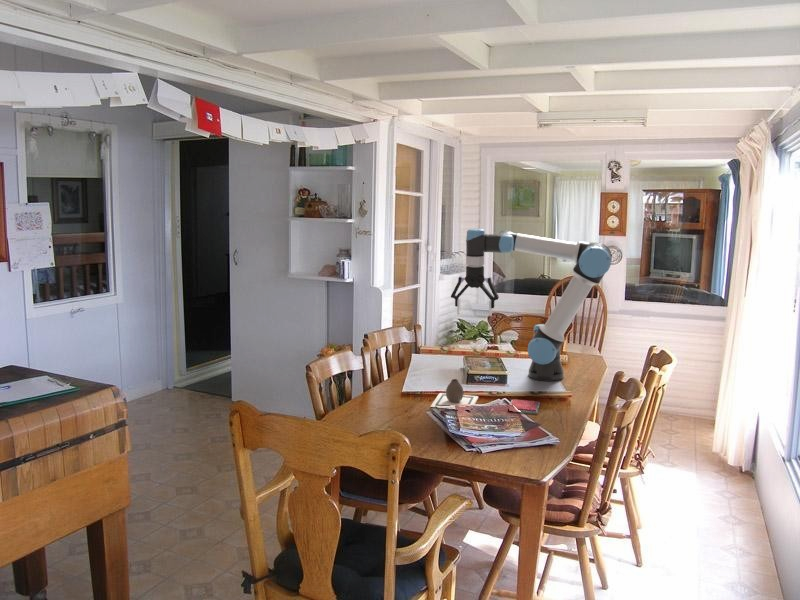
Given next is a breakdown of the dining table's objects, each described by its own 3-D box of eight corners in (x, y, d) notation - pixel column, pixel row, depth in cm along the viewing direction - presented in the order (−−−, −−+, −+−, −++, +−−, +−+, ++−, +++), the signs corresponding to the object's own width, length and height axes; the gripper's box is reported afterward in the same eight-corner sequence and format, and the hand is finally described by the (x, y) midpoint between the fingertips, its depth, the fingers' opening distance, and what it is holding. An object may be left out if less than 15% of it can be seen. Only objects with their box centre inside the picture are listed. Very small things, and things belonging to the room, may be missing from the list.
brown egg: (465, 403, 268) (465, 382, 266) (448, 404, 267) (448, 383, 265) (460, 397, 274) (461, 376, 273) (444, 398, 273) (444, 377, 271)
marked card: (478, 397, 276) (478, 395, 276) (471, 411, 261) (471, 409, 261) (439, 394, 280) (439, 392, 280) (430, 407, 265) (430, 405, 265)
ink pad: (539, 404, 268) (539, 401, 267) (537, 414, 257) (537, 410, 257) (511, 401, 271) (511, 398, 270) (507, 411, 260) (507, 408, 260)
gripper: (505, 265, 289) (504, 314, 293) (447, 263, 296) (447, 311, 300) (503, 268, 282) (502, 318, 286) (444, 266, 289) (444, 315, 293)
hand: (474, 314), depth 293 cm, fingers open, 13 cm apart
